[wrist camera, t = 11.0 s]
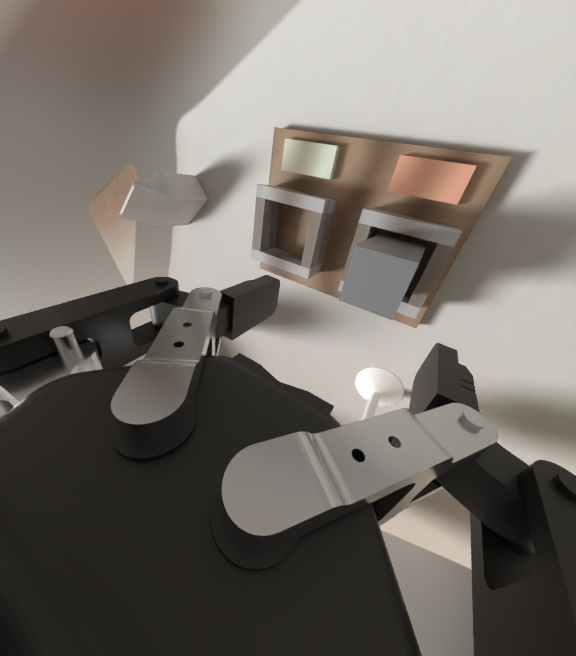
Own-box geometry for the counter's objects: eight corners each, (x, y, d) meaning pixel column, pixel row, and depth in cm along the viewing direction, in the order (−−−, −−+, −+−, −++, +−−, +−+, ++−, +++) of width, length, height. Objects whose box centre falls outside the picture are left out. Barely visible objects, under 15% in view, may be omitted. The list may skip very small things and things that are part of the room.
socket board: (508, 159, 19) (524, 149, 15) (417, 324, 28) (413, 342, 24) (280, 129, 27) (255, 118, 23) (264, 266, 35) (244, 273, 32)
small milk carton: (208, 199, 36) (144, 198, 28) (188, 224, 40) (127, 229, 32) (195, 175, 35) (126, 168, 27) (176, 204, 39) (111, 204, 32)
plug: (427, 243, 23) (419, 263, 15) (407, 284, 25) (392, 320, 18) (382, 232, 25) (355, 245, 17) (368, 272, 27) (338, 299, 19)
